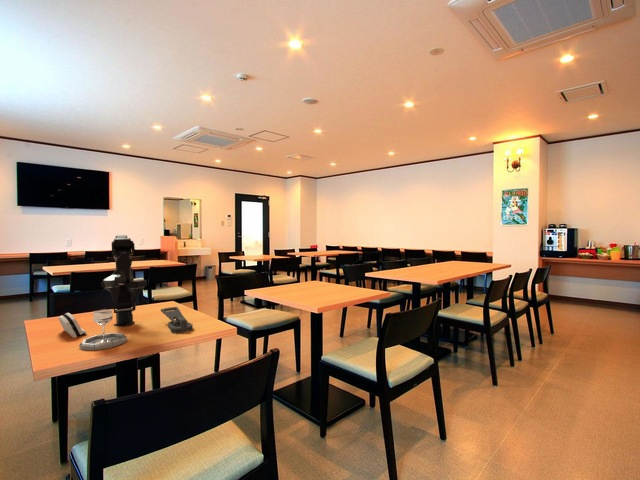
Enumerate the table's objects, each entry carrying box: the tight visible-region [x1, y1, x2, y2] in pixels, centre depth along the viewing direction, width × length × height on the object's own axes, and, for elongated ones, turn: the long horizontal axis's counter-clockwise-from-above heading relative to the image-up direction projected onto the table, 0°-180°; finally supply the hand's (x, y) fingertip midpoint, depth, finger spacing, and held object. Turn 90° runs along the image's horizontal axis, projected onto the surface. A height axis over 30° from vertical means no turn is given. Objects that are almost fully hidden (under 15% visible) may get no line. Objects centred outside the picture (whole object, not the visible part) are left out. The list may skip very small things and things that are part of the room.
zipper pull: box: [160, 306, 194, 334], centre depth 159 cm, size 9×7×25 cm
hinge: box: [57, 312, 88, 339], centre depth 150 cm, size 17×5×10 cm, turn 48°
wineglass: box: [92, 308, 114, 343], centre depth 136 cm, size 7×7×12 cm
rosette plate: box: [78, 332, 128, 352], centre depth 136 cm, size 16×16×2 cm
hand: (124, 303), depth 149 cm, fingers open, 9 cm apart
